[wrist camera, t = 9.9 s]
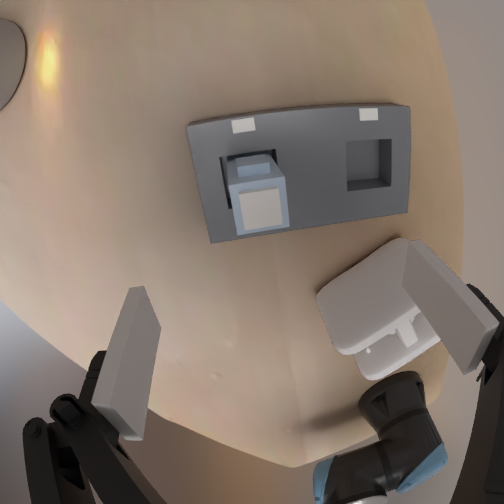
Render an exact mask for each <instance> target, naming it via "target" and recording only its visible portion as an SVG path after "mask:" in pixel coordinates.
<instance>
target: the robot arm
mask: <svg viewBox="0 0 504 504" xmlns="http://www.w3.org/2000/svg"><path fill="white" fill-rule="evenodd" d="M402 286H403V288H404V289H405V290H406V292H407V293H408V294H409V296H410V297H411V298H412V300H413V301H414V303H415V304H416V305H417V307H418V308H419V309H420V311H421V312H422V314H423V315H424V316H425V318H426V319H427V321H428V322H429V323H430V325H431V326H432V328H433V329H434V331H435V332H436V333H437V335H438V336H439V338H440V339H441V341H442V342H443V344H444V345H445V347H446V348H447V350H448V351H449V353H450V354H451V356H452V357H453V359H454V361H455V362H456V363H457V365H458V367H459V368H460V370H461V371H462V373H463V375H465V374H467V373H469V372H471V371H473V370H475V369H477V366H478V365H479V363H480V361H481V360H482V361H483V363H484V364H485V365H484V367H483V369H482V370H481V372H480V374H479V376H478V377H477V380H476V381H477V382H478V381H479V379H480V378H481V384H480V391H479V398H478V403H477V409H476V414H475V419H474V424H473V428H472V433H471V438H470V441H469V445H468V449H467V453H466V456H465V460H464V463H463V467H462V470H461V473H460V477H459V479H458V482H457V485H456V488H455V491H454V493H453V496H452V499H451V502H450V504H504V317H503V316H502V315H501V313H500V312H499V311H498V310H497V309H496V308H495V307H494V305H493V304H492V303H490V301H489V300H488V299H487V298H486V297H485V296H484V295H483V293H482V292H481V291H480V290H479V289H478V288H476V287H474V286H473V285H471V284H467V285H466V284H465V283H464V282H463V281H462V280H461V279H460V278H459V277H458V276H457V275H456V274H455V273H454V272H453V271H452V270H451V269H450V268H449V267H448V266H447V265H446V264H445V263H444V262H443V261H442V260H441V259H440V258H439V257H438V256H437V255H436V254H435V253H434V252H433V251H432V250H431V249H430V248H429V247H428V246H427V245H426V244H425V243H423V242H422V241H421V240H415V241H409V242H408V248H407V256H406V263H405V270H404V276H403V282H402ZM160 332H161V326H160V324H159V322H158V319H157V317H156V315H155V312H154V310H153V307H152V305H151V303H150V300H149V298H148V295H147V293H146V290H145V288H144V286H140V287H133V288H129V291H128V294H127V296H126V299H125V301H124V304H123V307H122V309H121V312H120V315H119V318H118V320H117V323H116V326H115V329H114V332H113V334H112V337H111V340H110V343H109V346H108V349H107V350H106V351H98V352H97V354H96V355H95V356H94V357H93V359H92V360H91V363H90V366H89V369H88V370H89V371H88V372H87V375H86V379H85V381H84V384H83V387H82V390H81V393H80V396H79V399H77V398H76V397H75V396H74V395H72V394H63V395H61V396H58V397H57V398H56V399H55V400H54V401H53V403H52V404H51V407H50V417H51V418H52V419H53V420H54V421H55V422H53V423H49V424H47V423H46V422H45V421H44V420H43V419H42V418H39V417H36V418H32V419H31V420H29V421H28V422H27V423H26V424H25V426H24V428H23V447H24V456H25V465H26V473H27V480H28V486H29V492H30V498H31V503H32V504H96V502H95V499H94V496H93V493H92V490H91V487H90V484H89V481H90V483H91V484H92V486H93V488H94V489H95V491H96V492H97V494H98V496H99V498H100V499H101V501H102V502H103V504H167V503H166V502H165V501H164V500H163V498H162V497H161V496H160V495H159V494H158V493H157V491H156V490H155V489H154V488H153V486H152V485H151V484H150V483H149V481H148V480H147V479H146V478H145V476H144V475H143V474H142V473H141V471H140V470H139V469H138V467H137V466H136V465H135V463H134V462H133V461H132V459H131V458H130V456H129V455H128V454H127V452H126V451H125V449H124V448H123V446H122V445H121V444H120V443H119V442H118V437H119V434H120V435H122V437H124V439H125V440H143V435H144V428H145V421H146V413H147V407H148V400H149V394H150V387H151V381H152V375H153V369H154V364H155V358H156V353H157V347H158V342H159V337H160ZM359 409H360V411H361V414H362V416H363V417H364V418H365V419H366V420H367V422H368V423H369V424H370V425H371V426H372V427H373V428H374V430H375V431H376V432H377V434H378V437H379V440H380V441H378V442H375V443H372V444H370V445H367V446H365V447H362V448H359V449H356V450H353V451H350V452H347V453H343V454H340V455H335V456H333V457H332V458H329V459H326V460H323V461H320V462H319V463H317V465H316V466H315V468H314V472H313V493H314V496H315V504H385V503H386V502H387V500H388V498H387V495H386V492H389V491H391V490H394V489H396V492H398V493H399V494H401V493H404V492H406V491H408V490H411V489H412V488H414V487H416V486H418V485H420V484H421V483H423V482H424V481H426V480H427V479H429V478H430V477H432V476H433V475H434V474H436V473H437V472H439V471H440V470H441V469H442V468H443V467H444V466H445V465H446V463H447V461H448V455H447V452H446V449H445V447H444V442H442V439H441V437H440V435H439V433H438V431H437V429H436V426H435V424H434V422H433V420H432V418H431V416H430V414H429V412H428V410H427V408H426V401H425V393H424V385H423V381H422V380H421V378H420V376H419V374H418V373H416V372H403V373H399V374H396V375H393V376H391V377H389V378H386V379H384V380H383V381H381V382H379V383H378V384H376V385H375V386H373V387H372V388H370V389H369V390H368V391H367V392H366V393H365V394H364V395H363V396H362V398H361V399H360V401H359ZM88 479H89V480H88Z"/></svg>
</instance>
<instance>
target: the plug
mask: <svg viewBox="0 0 504 504" xmlns="http://www.w3.org/2000/svg"><path fill="white" fill-rule="evenodd" d="M227 171H228V186H229V192H230V197H231V203H232V208H233V213H234V219H235V224H236V230H237V235H243V234H249V233H255V232H261V231H267V230H273V229H279V228H285V227H290V223H289V213H288V203H287V193H286V184H285V176H284V175H283V173H282V172H281V170H280V169H279V167H278V166H277V164H276V163H275V161H274V160H273V159H272V157H271V156H270V154H269V153H268V151H267V150H263V151H256V152H249V153H243V154H237V155H231V156H227Z"/></svg>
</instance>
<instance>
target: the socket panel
mask: <svg viewBox="0 0 504 504" xmlns="http://www.w3.org/2000/svg"><path fill="white" fill-rule="evenodd" d="M186 129H187V134H188V139H189V144H190V149H191V154H192V159H193V164H194V169H195V173H196V178H197V183H198V188H199V192H200V197H201V202H202V206H203V211H204V215H205V220H206V224H207V229H208V233H209V237H210V242H211V244H212V243H218V242H224V241H230V240H236V239H242V238H248V237H254V236H260V235H266V234H272V233H279V232H285V231H291V230H297V229H304V228H310V227H316V226H323V225H329V224H336V223H342V222H349V221H355V220H362V219H368V218H375V217H382V216H389V215H395V214H402V213H407V211H408V198H409V181H410V152H411V124H410V107H409V106H404V105H399V104H394V103H357V104H331V105H315V106H302V107H291V108H281V109H272V110H264V111H256V112H249V113H242V114H235V115H229V116H223V117H217V118H212V119H206V120H201V121H196V122H191V123H189V124H188V125H187V126H186ZM263 150H267V151H268V153H269V154H270V156H271V157H272V159H273V160H274V161H275V163H276V164H277V166H278V167H279V169H280V170H281V172H282V173H283V175H284V176H285V184H286V193H287V203H288V213H289V223H290V227H285V228H279V229H273V230H267V231H261V232H255V233H249V234H243V235H237V230H236V224H235V219H234V213H233V208H232V203H231V197H230V192H229V186H228V171H227V156H231V155H237V154H243V153H249V152H256V151H263Z"/></svg>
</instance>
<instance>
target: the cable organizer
mask: <svg viewBox="0 0 504 504" xmlns="http://www.w3.org/2000/svg"><path fill="white" fill-rule="evenodd" d="M408 242H409V240H408V239H406V238H397V239H394V240H392V241H390V242H388V243H387V244H384V245H383V246H381V247H380V248H378V249H377V250H376V251H374V252H373V253H372V254H370V255H369V256H368V257H367V258H365V259H364V260H362V261H361V262H359V263H358V264H357V265H355V266H354V267H352V268H351V269H349V270H348V271H345V272H344V273H342V274H341V275H339V276H338V277H336V278H335V279H333V280H332V281H330V282H329V283H328V284H327V285H325V286H324V287H323V288H322V289H321V290H320V291H319V293H318V295H317V297H316V302H317V305H318V307H319V310H320V312H321V315H322V318H323V320H324V323H325V325H326V328H327V330H328V333H329V336H330V338H331V341H332V343H333V346H334V347H335V348H336V349H337V350H338V351H339V352H340V353H341V354H344V355H351V354H353V356H354V359H355V361H356V363H357V366H358V368H359V371H360V373H361V374H362V375H363V376H364V377H365V378H366V379H368V380H378V379H381V378H383V377H385V376H387V375H388V374H390V373H392V372H393V371H395V370H397V369H398V368H400V367H401V366H403V365H405V364H406V363H408V362H409V361H411V360H412V359H414V358H415V357H417V356H418V355H420V354H421V353H423V352H424V351H426V350H427V349H429V348H430V347H432V346H433V345H434V344H436V343H437V342H439V341H440V340H441V339H440V338H439V336H438V335H437V333H436V332H435V331H434V329H433V328H432V326H431V325H430V323H429V322H428V321H427V319H426V318H425V316H424V315H423V314H422V312H421V311H420V309H419V308H418V307H417V305H416V304H415V303H414V301H413V300H412V298H411V297H410V296H409V294H408V293H407V292H406V290H405V289H404V288H403V286H402V282H403V276H404V270H405V263H406V256H407V248H408Z"/></svg>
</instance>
